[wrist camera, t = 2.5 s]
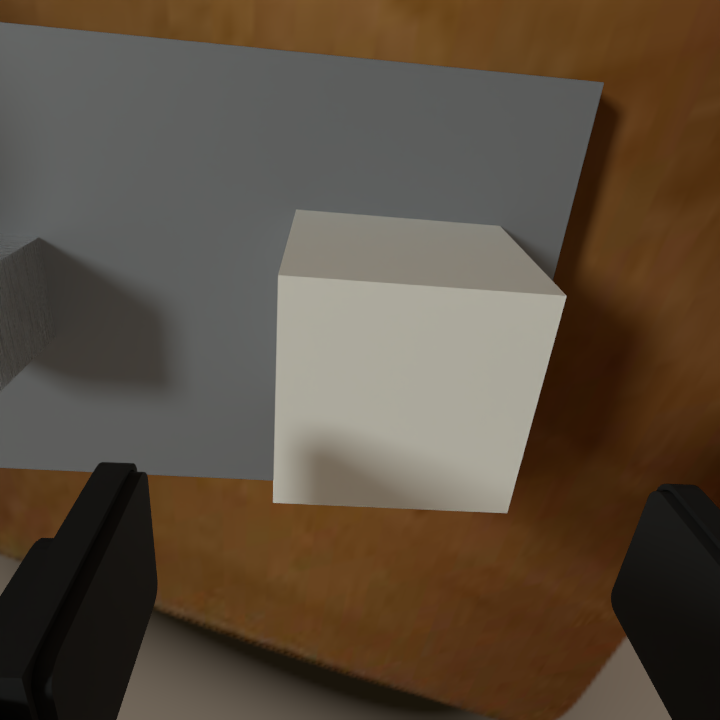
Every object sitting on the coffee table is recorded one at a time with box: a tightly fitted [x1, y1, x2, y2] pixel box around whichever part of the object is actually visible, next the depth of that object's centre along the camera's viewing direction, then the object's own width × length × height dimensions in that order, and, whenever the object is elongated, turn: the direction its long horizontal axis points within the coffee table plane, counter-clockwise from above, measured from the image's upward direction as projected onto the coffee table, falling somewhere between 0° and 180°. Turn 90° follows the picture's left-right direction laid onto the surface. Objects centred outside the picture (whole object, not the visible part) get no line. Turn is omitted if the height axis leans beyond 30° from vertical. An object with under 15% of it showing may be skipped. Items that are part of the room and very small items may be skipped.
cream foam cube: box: [273, 209, 567, 513], centre depth 16 cm, size 6×6×6 cm
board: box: [0, 22, 604, 480], centre depth 18 cm, size 22×14×2 cm, turn 85°
